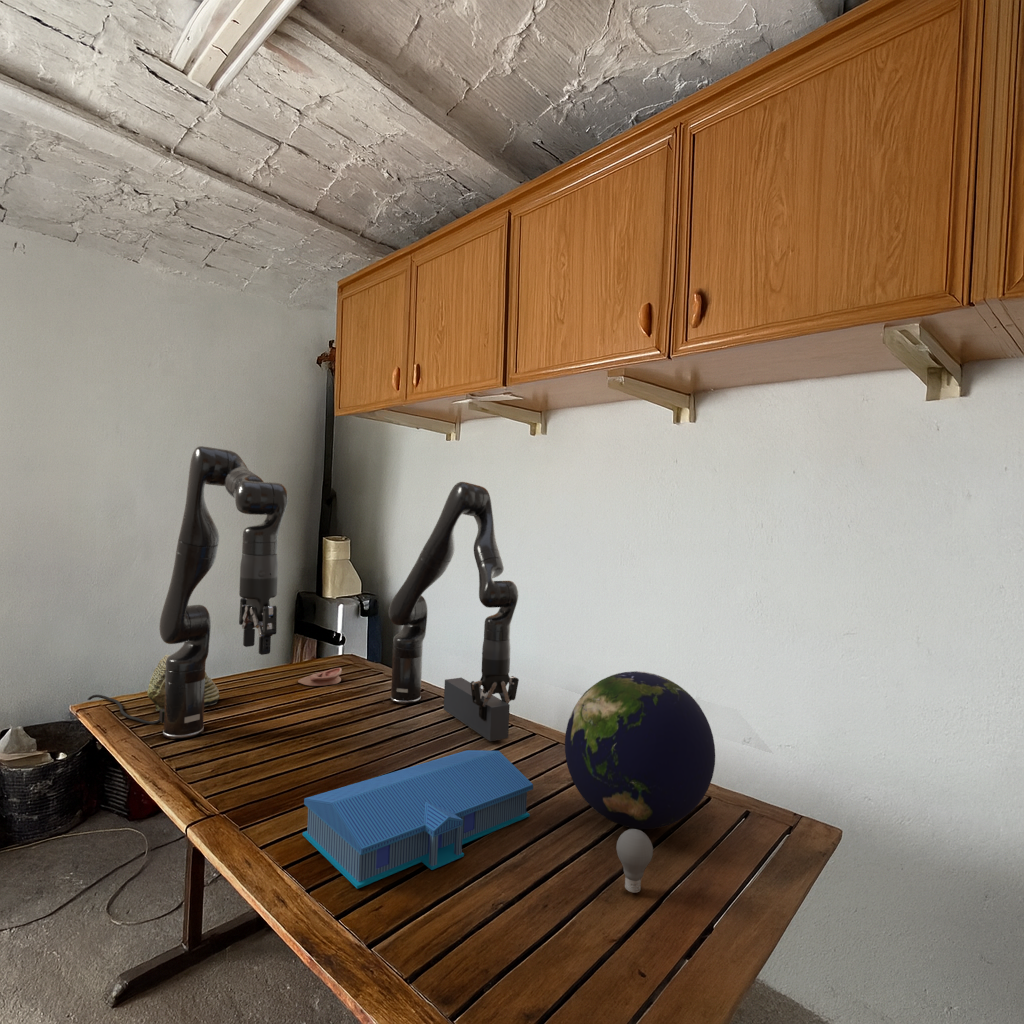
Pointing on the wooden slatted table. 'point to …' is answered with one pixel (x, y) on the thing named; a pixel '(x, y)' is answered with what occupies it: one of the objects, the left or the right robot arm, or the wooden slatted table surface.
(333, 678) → the anatomical model
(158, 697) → the fossil
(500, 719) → the bar
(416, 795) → the model building
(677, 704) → the globe
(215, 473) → the left robot arm
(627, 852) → the light bulb
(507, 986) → the wooden slatted table surface
